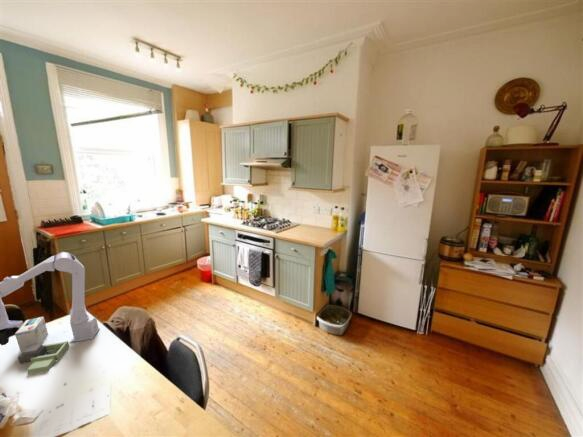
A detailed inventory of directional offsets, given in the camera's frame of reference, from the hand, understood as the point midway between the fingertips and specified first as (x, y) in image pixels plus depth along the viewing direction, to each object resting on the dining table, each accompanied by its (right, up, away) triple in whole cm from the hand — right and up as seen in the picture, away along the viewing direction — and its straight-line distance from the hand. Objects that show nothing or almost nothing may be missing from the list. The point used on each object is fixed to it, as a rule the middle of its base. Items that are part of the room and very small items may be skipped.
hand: (5, 343), depth 106 cm
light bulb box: (-1, -7, +13) cm, 15 cm away
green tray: (+15, -9, +4) cm, 18 cm away
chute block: (+8, -9, +5) cm, 13 cm away
